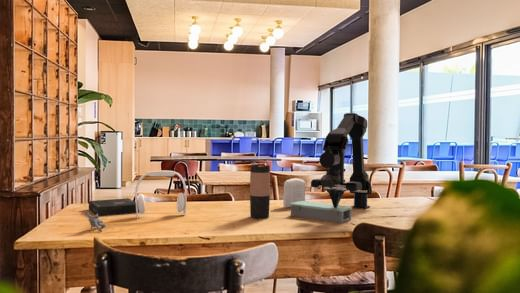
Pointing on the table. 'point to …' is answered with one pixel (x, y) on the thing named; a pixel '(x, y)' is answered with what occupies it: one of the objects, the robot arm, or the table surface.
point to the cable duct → (321, 214)
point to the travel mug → (259, 191)
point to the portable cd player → (112, 207)
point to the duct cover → (320, 206)
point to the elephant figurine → (95, 221)
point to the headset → (181, 197)
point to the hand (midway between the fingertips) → (335, 207)
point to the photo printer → (293, 191)
